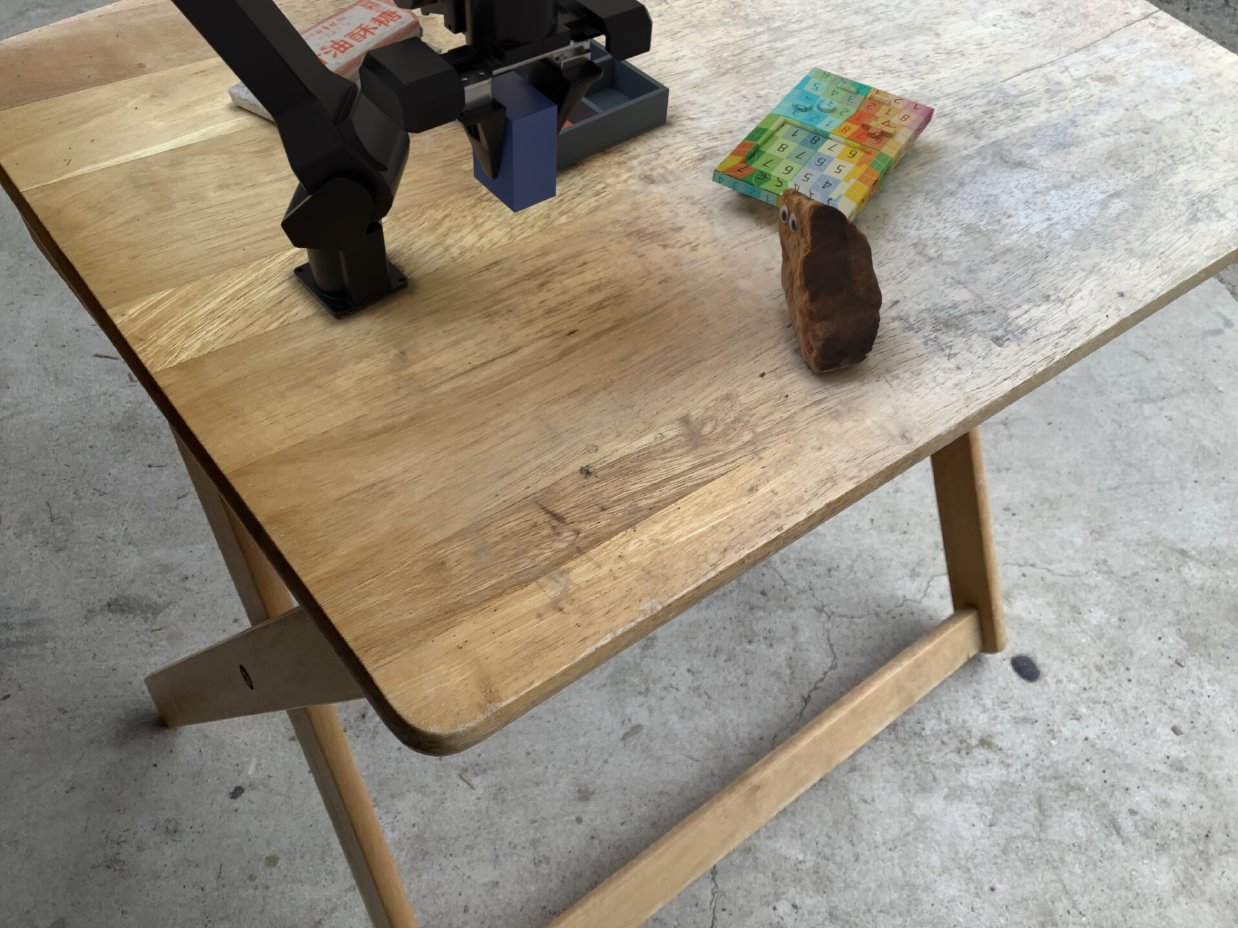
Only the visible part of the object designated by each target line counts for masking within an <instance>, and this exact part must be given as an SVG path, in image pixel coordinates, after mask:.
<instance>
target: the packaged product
mask: <svg viewBox="0 0 1238 928" xmlns="http://www.w3.org/2000/svg"><path fill="white" fill-rule="evenodd" d="M299 34H300V35H301V36H302V38H303V39H304V40H305V41H306V43H307V44H308V45H309V46H310V48H311V49H312V50H313V51H314V53H315V54H316V55H317V56H318V58H319V59H320V60H321V61H322V63H323V64H324V65H325V66H326V67H327V68H328V69H329V70H331V71H332V72H334V73H336V74H338V75H340V76H342V77H345V78H347V79H349V80H351V81H353V82H355V83H356V82H357V81H358V80H359V79H360V76H359V66H360V62H361V59H362V57H363V56H364V55H365V54H366V52H367V51H369V50H372V49H376V48H379V47H382V46H385V45H389V44H392V43H395V42H398V41H401V40H405V39H408V38H411V37H414V36H417V37H418V38H419V39H421V40H422V38H423V37H424V28H423V27H422V24H421V23H420V19H419V16H418V15H417V14H416V13H415V12H414V11H413V10H409V9H402V8H399V7H397V6H396V4H395V3H394V1H393V0H357V1H355V2H354V3H351V4H350V5H349V6H347V7H344V8H343V9H341V10H339V11H337V12H335V13H333V14H332V15H329V16H328V17H327V18H325V19H323V20H321V21H319V22H317V23H316V24H314V25H312V26H310V27H308V28H306V29H305V30H303V31H301V32H299ZM423 42H424V43H426V44H427V45H428V46H429V47H431V48H432V49H433V50H434V51H435V52H437V53H438V54H442V53H443V51H442V48H441V47H438V46H435V45H434V44H431V43H428V42H427V41H423ZM227 93H228V95H229V97H230V99H231V101H232V104H234V105H237V106H238V107H240V108H243V109H245V110H248V111H250V112H252V113H254V114H256V115H259V116H261V117H263V118H265V119H267V120H270V121H271V122H274V120H273V118H272V117H271V115H270V114H269V113H268V112H267V111H266V109H265V108H264V107H263V106H262V105H261V104H260V102H259V101H258V100H257V99H256V98H255V97H254V96H253V94H252V93H251V92H250V91H249V90H248V89H247V88H246V86H245V85H244V84H243V83H242V82H241V81H240V82H238V83H236V84H234V85H232V86H230V87H228V88H227Z"/></svg>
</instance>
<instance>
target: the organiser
mask: <svg viewBox="0 0 1238 928" xmlns="http://www.w3.org/2000/svg"><path fill="white" fill-rule="evenodd" d="M589 50H590V59H591V60H592V61H594V62H595V63H596V64H598V65H599V66H600V67H602V69H603V74H602V77H601V78H600V79H599V80H596V81H594V82H593V83H592V84H591V86H590V87H589V89H588V90H587V91H586V93H585V94H584V96H583V97H582V99H581V100H580V102H579V103H578V104H577V106H576V107H575V109H574V110H573V112H572V113H571V115H570V116H569V118H568V119H567V121H566V123H565V124H564V126H563V128H562V129H561V131H560V133H559V135H558V136H557V160H556V172H558V171H560V170H562V169H565V168H567V167H569V166H571V165H574V164H576V163H578V162H580V161H583V160H585V159H587V158H588V159H589V158H590V157H592V156H595V155H597V154H599V153H601V152H603V151H607V150H608V149H610V148H612V147H615V146H617V145H620V144H622V143H624V142H626V141H629V140H631V139H633V138H635V137H638V136H640V135H643V134H645V133H647V132H649V131H652V130H654V129H656V128H658V127H660V126H663V125H665V124H667V117H668V108H669V107H668V106H669V99H670V88H669V87H667V86H666V85H664V84H663V83H661V82H660V81H658V79H655V78H654V77H652V76H650V75H649V74H648V73H646V72H644V70H642V69H640V68H639V67H637V66H635V65H634V64H633V63H631V62H630V61H628V60H627V59H626V60H624V61H621V62H618V61H617V60H616V59H614V58H613V57H612V56H611V55H610V54H609V53H607V52H606V51H605V44H602V43H600V42H599V41H597V40H596V39H595V38H593V39H590V48H589ZM512 71H514V72H515V73H516V74H518V75H519V76H520V77H521V78H523V79H524V80H525V81H527V82H528V77H527V73H526V70H525V67H524V65H522V66H519V67H516V68H513V69H510V70H508V71H505V72H502V73H499V74H496V75H493V78H494V77H497V76H500V75H503V74H506V73H509V72H512Z"/></svg>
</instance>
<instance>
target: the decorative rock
mask: <svg viewBox="0 0 1238 928" xmlns="http://www.w3.org/2000/svg"><path fill="white" fill-rule="evenodd" d="M855 223H856V222H854V220H853V221H852V220H848V218H847V217H846V215H845V214H844V213H842V212H841V211H840V210H839V209H837V208H835V207H833V206H830V205H827V204H824V203H821V202H818V201H815V200H812V199H811V198H809V197H808V196H806V195H805V194H803V193H801V192H799V191H797V190H795V189H794V188H789V189H786V190H784V191H783V193H782V197H781V203H780V208H779V215H778V221H777V229H778V231H777V232H778V235H779V242H780V247H781V266H780V281H781V287H782V289H783V290H782V291H783V292H784V297H785V303H786V307H787V309H788V313H789V317H790V323H791V325H792V327H793V329H794V331H795V333H796V338H797V342H798V346H799V347H800V351H801V353H800V354H801V356H802V358H803V360H804V361H805V363H806V364H807V365H808V366H809V368H810V369H811V370H812V371H813V373H814V374H816V375H818V374H823V373H827V372H833V371H836V370H840V369H843V368H847V367H851V366H854V365H857V364H858V365H860V364H861V363H862V362H864V361H866V360H867V358H868V356H867V355H868V354H870V353H871V352H872V351H873V348H874V344H875V342H876V339H877V336H878V332H879V329H880V324H881V313H880V310H881V308H882V305H883V294H882V290H881V288H880V285H879V280H878V277H877V275H876V271H875V269H874V261H873V254H872V248H871V245H870V243H869V240H868V237H867V235H866V234H865V233H864V232H862V231H861V230H860V229H859V228H858V227H857V225H856V224H855Z"/></svg>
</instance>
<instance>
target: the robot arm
mask: <svg viewBox="0 0 1238 928" xmlns="http://www.w3.org/2000/svg"><path fill="white" fill-rule="evenodd" d="M170 1H171V3H172V4H173V5H174V6H175V7H176V8H177V10H178V11H179V12H180V13H181V14H182V15H183V16H184V17H185V19H186V20H187V21H188V22H189V23H190V25H192V27H193V29H195V30H196V31H197V33H198V34H199V35H200V36H201V37H202V38H203V39H204V41H205V42H206V43H207V44H208V46H210V48H211V49H212V50H213V51H214V52H215V53H216V54H217V55H218V57H219V58H220V59H221V60H222V62H224V64H225V65H226V66H227V67H228V68H229V69H230V70H231V72H232V73H233V74H234V75H235V76H236V78H237V79H238V80H240V82H242V83H243V84H244V85H245V86H246V88H247V89H248V90H249V91H250V92H251V93H252V94H253V96H254V97H255V98H256V99H257V100H258V101H259V102H260V104H261V105H262V106H263V107H264V108H265V109H266V111H267V112H268V113H269V114H270V115H271V117H272V118H273V120H274V121H273V122H274V124H275V126H276V129H277V133H278V135H279V138H280V141H281V144H282V147H283V149H284V153H285V155H286V159H287V162H288V164H289V168H290V169H291V171H292V173H293V174H294V177H296V179H297V180H298V184H297V186H296V188H295V190H294V192H293V196H292V198H291V200H290V202H289V204H288V206H287V208H286V211H285V213H284V215H283V218H282V220H281V222H280V227H281V229H282V230H283V232H284V233H285V235H286V236H287V239H288V240H289V241H290V243H291V245H292V247H294V248H297V249H305V250H306V254H307V260H308V262H305V263H303V264H300V265H298V266H296V267H294V268H293V275H294V277H295V279H297V280H298V281H299V283H300V284H301V285H302V286H303V287H304V288H305V289H306V290H307V291H308V292H309V293H310V294H311V295H312V296H313V297H314V298H315V299H316V300H317V301H318V302H319V303H320V304H321V305H322V306H323V307H324V308H325V309H326V310H327V311H328V312H329V313H330V314H331V315H332V316H333V317H334V318H337V319H338V318H344V317H345V316H347V315H349V314H352V313H354V312H357V311H358V310H361V309H363V308H365V307H367V306H368V305H371V304H373V303H376V302H377V301H380V300H382V299H384V298H387V297H389V296H390V295H393V294H395V293H397V292H399V291H402V290H404V289H406V288H407V287H408V286H409V284H410V283H409V278H408V277H407V276H406V275H405V274H404V273H403V272H402V271H401V270H400V269H399V268H398V267H397V266H396V265H394V264H393V262H392V261H390V259H388V255H387V247H386V241H385V232H384V226H383V218H385V217H387V215H388V214H389V212H390V211H391V209H392V208H393V205H394V201H395V199H396V196H397V193H398V190H399V187H400V183H401V181H402V178H403V174H404V172H405V169H406V166H407V163H408V160H409V156H410V149H411V146H410V145H411V138H410V135H409V134H416V135H418V134H421V133H424V132H427V131H430V130H433V129H436V128H439V127H441V126H444V125H447V124H450V123H452V122H455V121H456V120H457V121H458V122H459V123H460V124H461V126H462V128H463V130H464V132H465V135H466V136H467V139H468V141H469V143H470V145H471V147H473V149H472V151H473V150H474V152H475V154H476V156H477V158H478V160H479V163H480V165H481V167H482V169H483V171H484V173H485V174H486V175H487V176H488V177H489V178H490V179H491V180H494V179H497V177H498V173H499V169H500V165H501V159H502V149H503V139H504V130H505V121H506V111H507V107H506V106H505V105H503V104H502V103H501V102H500V101H498V100H497V99H496V98H495V97H494V96H492V81H493V75H496V74H499V73H502V72H505V71H508V70H510V69H513V68H516V67H519V66H522V65H524V67H525V70H526V73H527V77H528V83H529V84H530V85H532V86H533V87H534V88H536V89H537V90H538V91H539V92H541V93H542V94H543V95H545V96H546V97H547V98H548V99H550V100H551V101H552V102H554V103H555V104H556V105H557V136H558V135H559V133H560V131H561V129H562V128H563V126H564V124H565V123H566V121H567V119H568V118H569V116H570V115H571V113H572V112H573V110H574V109H575V107H576V106H577V104H578V103H579V102H580V100H581V99H582V97H583V96H584V94H585V93H586V91H587V90H588V89H589V87H590V86H591V84H592V83H593V82H594V81H596V80H599V79H600V78H601V77H602V74H603V69H602V67H600V66H599V65H598V64H596V63H595V62H594V61H592V60H591V59H590V50H589V48H590V39H596V38H600V37H602V36H604V37H605V39H604V46H605V51H606V52H607V53H609V54H610V55H611V56H612V57H613V58H614V59H616V60H617V61H618V62H621V61H624V60H626V61H627V60H629V59H632V58H634V57H638V56H640V55H643V54H645V53H648V52H651V47H652V36H653V27H654V25H653V24H654V21H653V19H652V16H651V14H650V11H649V9H648V7H646V6H645V4H643V3H642V2H640V1H639V0H392V1H393V2H394V3H395V4H396V6H397V7H399V8H402V9H409V10H411V11H413V10H417V9H420V13H421V15H422V16H424V17H426V16H430V15H431V14H433V15H441V16H443V26H444V28H445V29H447V30H448V31H449V32H450V33H452V34H453V35H458V34H462V35H463V36H464V37H465V39H464V40H465V44H462V45H459V46H456V47H454V48H451V49H448V50H447V51H446V52H442V53H441V54H438V53H437V52H435V51H434V50H433V49H432V48H431V47H429V46H428V45H427V44H426V43H424V42H425V41H423V40H422V38H421V39H419V38H418V37H417V36H414V37H411V38H408V39H405V40H401V41H398V42H395V43H392V44H389V45H385V46H382V47H379V48H376V49H372V50H369V51H367V52H366V54H365V55H364V56H363V57H362V59H361V62H360V66H359V76H360V79H359V80H358V81H357V82H356V83H355V82H353V81H351V80H349V79H347V78H345V77H342V76H340V75H338V74H336V73H334V72H332V71H331V70H329V69H328V68H327V67H326V66H325V65H324V64H323V63H322V61H321V60H320V59H319V58H318V56H317V55H316V54H315V53H314V51H313V50H312V49H311V48H310V46H309V45H308V44H307V43H306V41H305V40H304V39H303V38H302V36H301V35H300V32H299V31H298V30H297V29H296V27H295V26H294V25H293V24H292V22H291V21H290V19H288V17H287V16H286V15H285V14H284V12H283V11H282V10H281V9H280V7H279V6H278V4H277V3H276V2H275V1H274V0H170Z"/></svg>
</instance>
